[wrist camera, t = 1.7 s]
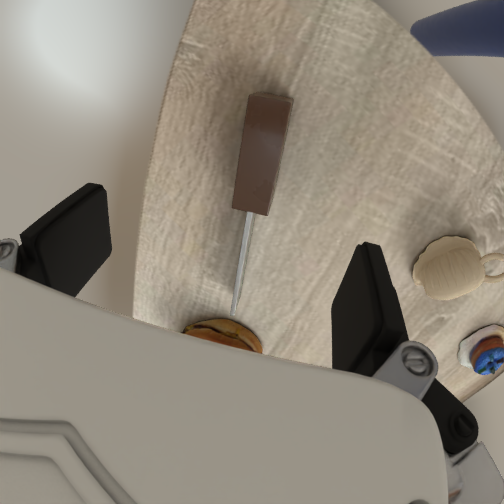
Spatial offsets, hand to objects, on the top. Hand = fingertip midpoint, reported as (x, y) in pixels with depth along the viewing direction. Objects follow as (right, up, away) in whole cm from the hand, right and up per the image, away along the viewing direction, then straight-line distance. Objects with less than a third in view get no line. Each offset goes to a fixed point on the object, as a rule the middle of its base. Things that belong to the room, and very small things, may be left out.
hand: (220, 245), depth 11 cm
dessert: (+30, -12, +18) cm, 37 cm away
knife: (+1, +3, +14) cm, 14 cm away
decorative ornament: (+19, 0, +13) cm, 23 cm away
